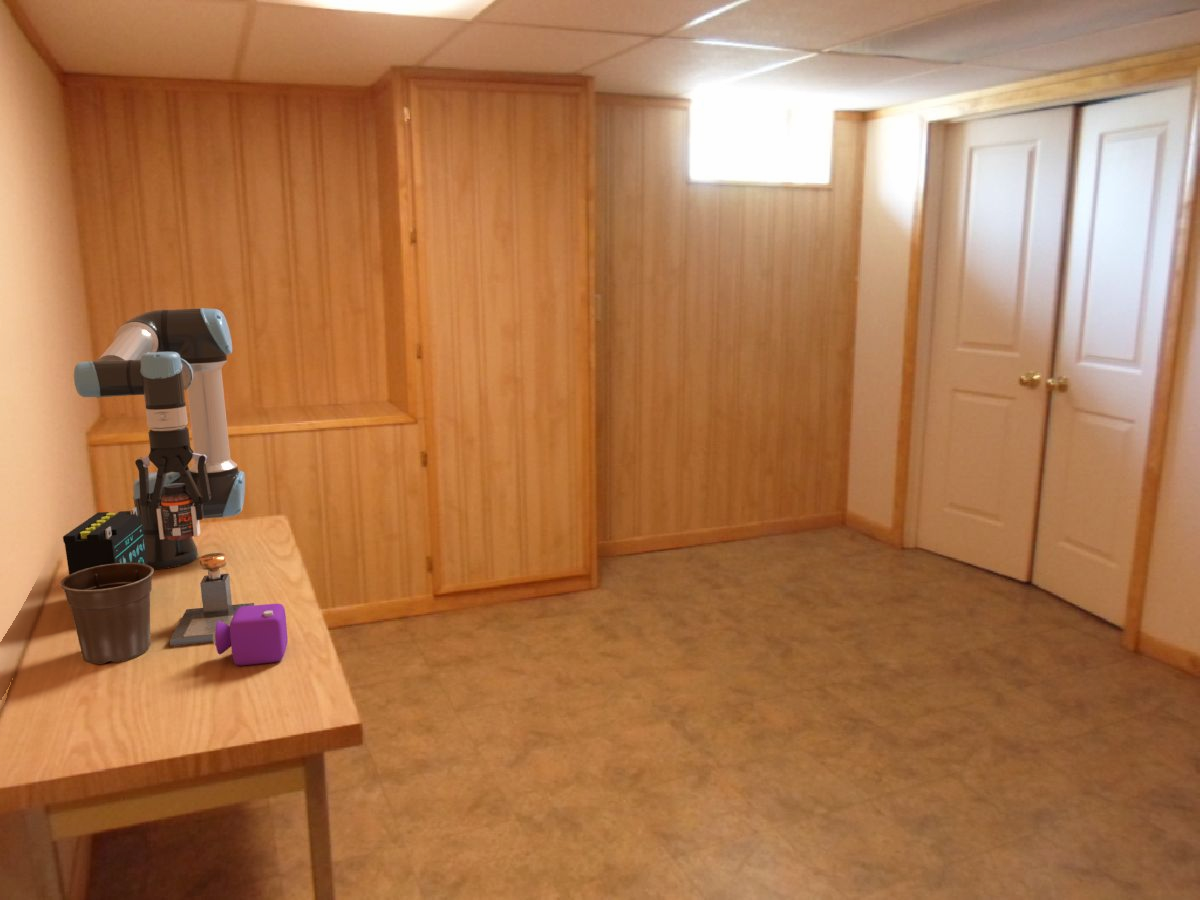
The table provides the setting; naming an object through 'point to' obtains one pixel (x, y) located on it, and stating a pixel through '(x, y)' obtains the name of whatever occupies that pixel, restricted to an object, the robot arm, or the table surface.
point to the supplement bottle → (177, 512)
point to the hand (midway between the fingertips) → (180, 536)
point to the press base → (207, 613)
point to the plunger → (213, 565)
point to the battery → (106, 541)
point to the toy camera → (254, 634)
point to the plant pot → (111, 610)
